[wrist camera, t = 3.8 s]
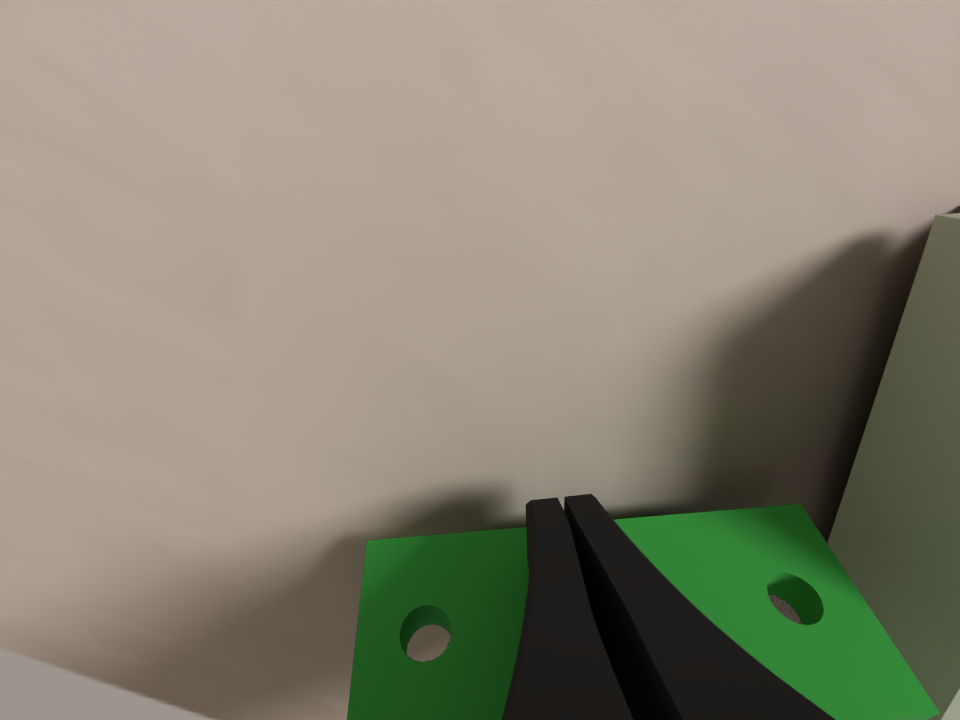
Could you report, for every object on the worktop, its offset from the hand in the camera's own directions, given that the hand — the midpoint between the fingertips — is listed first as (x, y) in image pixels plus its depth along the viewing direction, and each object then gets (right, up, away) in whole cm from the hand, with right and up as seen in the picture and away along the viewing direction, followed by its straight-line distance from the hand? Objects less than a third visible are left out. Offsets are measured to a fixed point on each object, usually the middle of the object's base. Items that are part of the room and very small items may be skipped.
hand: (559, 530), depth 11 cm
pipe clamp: (+1, -1, +2) cm, 3 cm away
